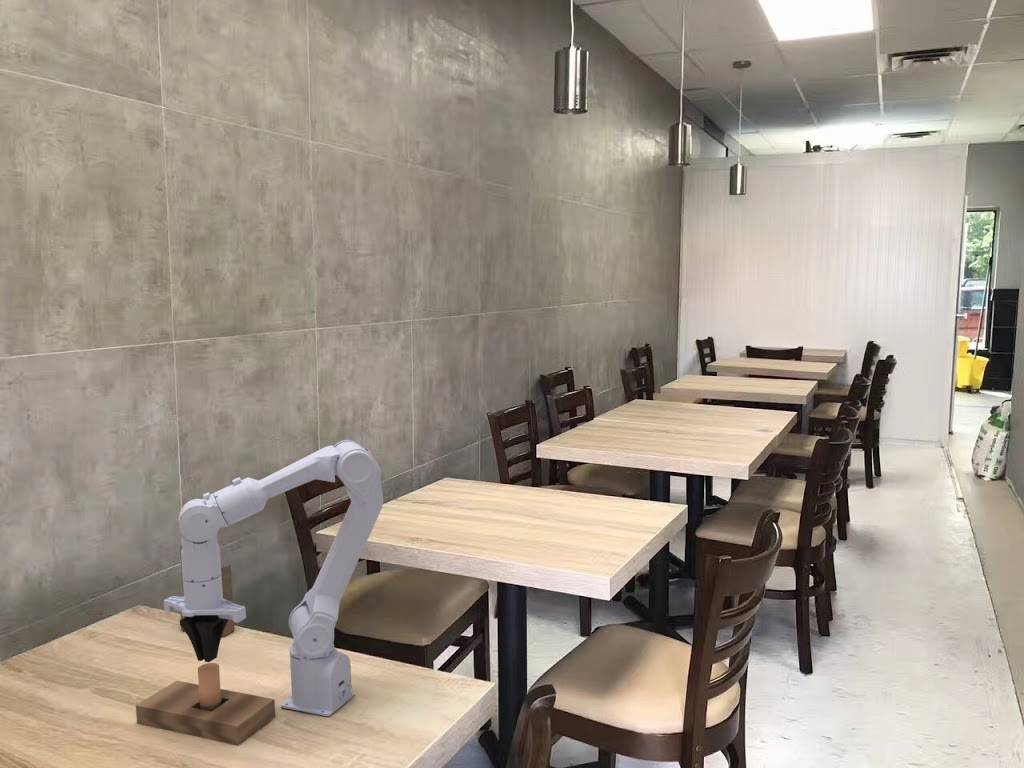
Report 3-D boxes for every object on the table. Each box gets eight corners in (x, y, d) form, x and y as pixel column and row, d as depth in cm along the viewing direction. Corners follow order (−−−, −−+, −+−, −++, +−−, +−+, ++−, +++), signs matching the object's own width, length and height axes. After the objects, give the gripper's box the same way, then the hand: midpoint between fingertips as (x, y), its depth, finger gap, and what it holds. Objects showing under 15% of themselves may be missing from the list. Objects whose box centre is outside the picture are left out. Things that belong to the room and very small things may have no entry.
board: (275, 716, 135) (274, 699, 135) (238, 745, 127) (237, 726, 126) (178, 697, 142) (176, 680, 142) (136, 723, 134) (135, 705, 133)
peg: (226, 717, 135) (223, 664, 134) (213, 727, 132) (210, 673, 131) (209, 714, 136) (206, 661, 135) (196, 724, 133) (192, 670, 132)
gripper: (147, 579, 130) (153, 662, 132) (222, 589, 125) (227, 676, 127) (180, 565, 137) (185, 645, 138) (252, 574, 132) (257, 657, 133)
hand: (207, 658), depth 133 cm, fingers closed
